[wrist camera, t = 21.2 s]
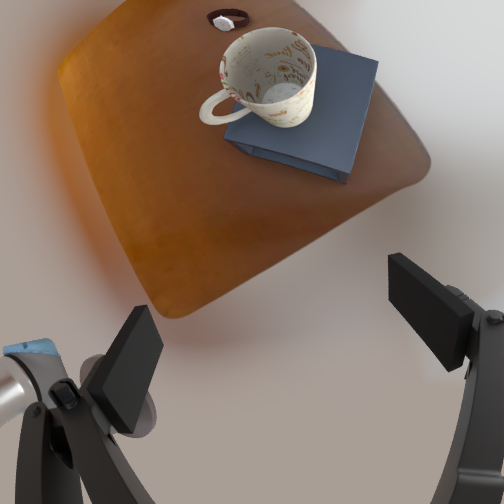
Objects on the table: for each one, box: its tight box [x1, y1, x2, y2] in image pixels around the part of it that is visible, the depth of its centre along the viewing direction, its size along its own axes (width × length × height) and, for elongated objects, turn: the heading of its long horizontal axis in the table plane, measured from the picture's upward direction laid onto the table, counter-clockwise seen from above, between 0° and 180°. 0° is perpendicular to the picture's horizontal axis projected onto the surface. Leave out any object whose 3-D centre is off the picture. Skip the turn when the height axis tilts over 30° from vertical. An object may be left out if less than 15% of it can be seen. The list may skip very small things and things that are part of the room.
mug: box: [199, 28, 317, 128], centre depth 26 cm, size 8×13×10 cm, turn 114°
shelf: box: [223, 44, 378, 184], centre depth 34 cm, size 15×15×9 cm
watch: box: [207, 9, 249, 31], centre depth 38 cm, size 8×5×4 cm, turn 68°
